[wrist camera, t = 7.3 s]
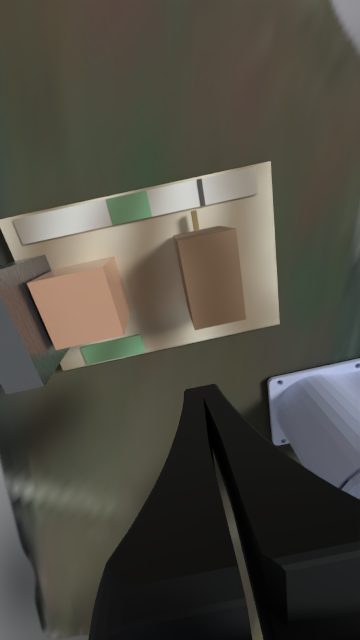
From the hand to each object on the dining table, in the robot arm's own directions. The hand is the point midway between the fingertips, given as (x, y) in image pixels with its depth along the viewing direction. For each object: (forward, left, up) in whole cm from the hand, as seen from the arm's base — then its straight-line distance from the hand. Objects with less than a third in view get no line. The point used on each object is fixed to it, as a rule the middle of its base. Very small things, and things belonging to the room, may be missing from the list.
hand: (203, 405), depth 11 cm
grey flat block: (+9, -4, -10) cm, 14 cm away
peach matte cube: (+6, -4, -9) cm, 11 cm away
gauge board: (+1, -4, -10) cm, 11 cm away
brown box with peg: (-2, -4, -9) cm, 10 cm away
